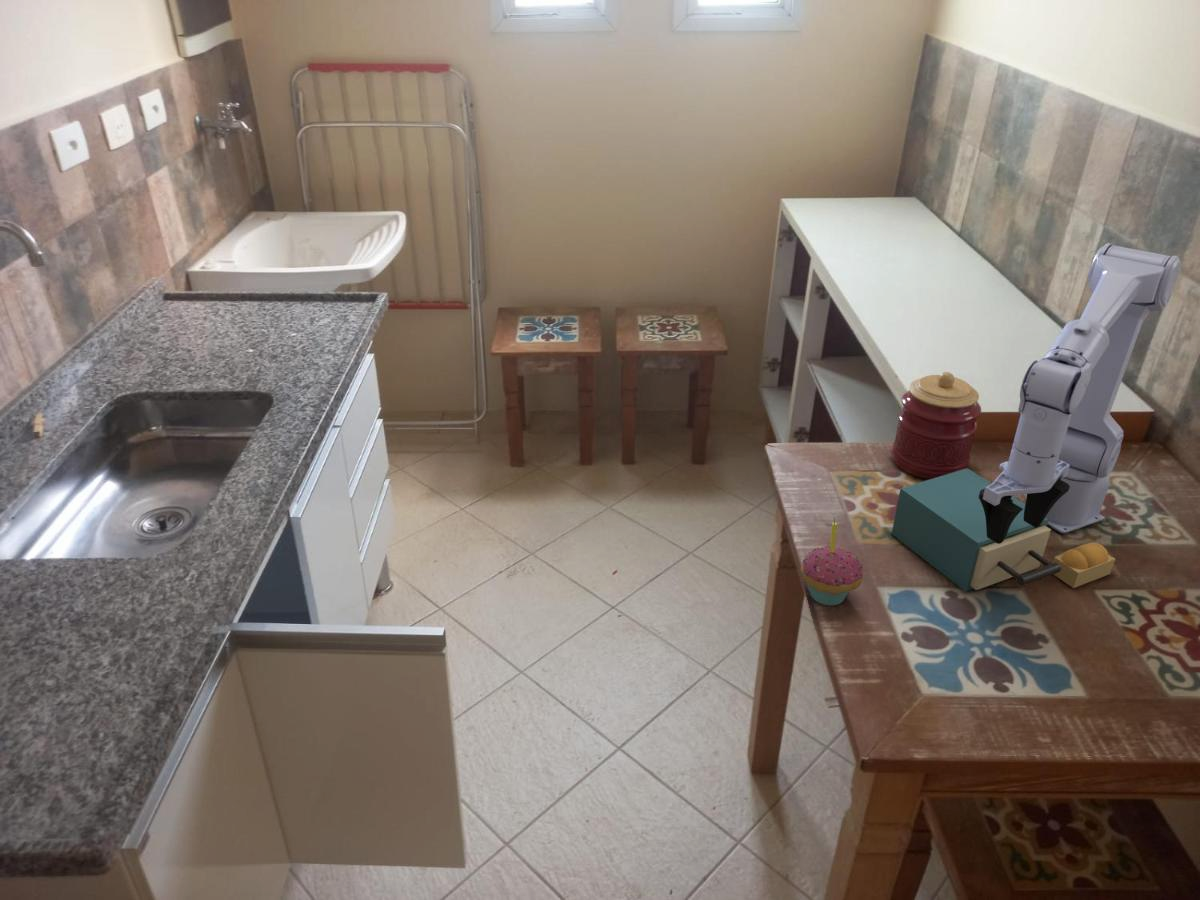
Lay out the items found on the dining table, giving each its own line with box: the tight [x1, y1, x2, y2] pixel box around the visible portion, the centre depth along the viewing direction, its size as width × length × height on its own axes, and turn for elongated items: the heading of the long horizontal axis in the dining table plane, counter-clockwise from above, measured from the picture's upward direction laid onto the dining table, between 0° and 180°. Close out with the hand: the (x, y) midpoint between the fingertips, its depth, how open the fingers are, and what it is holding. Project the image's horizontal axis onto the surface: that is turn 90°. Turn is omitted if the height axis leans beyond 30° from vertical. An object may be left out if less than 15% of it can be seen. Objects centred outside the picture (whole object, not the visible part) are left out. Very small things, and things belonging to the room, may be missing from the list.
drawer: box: [970, 525, 1061, 591], centre depth 129 cm, size 19×12×7 cm, turn 25°
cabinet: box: [891, 467, 1049, 592], centre depth 132 cm, size 16×14×9 cm
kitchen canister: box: [891, 371, 982, 480], centre depth 152 cm, size 13×13×18 cm
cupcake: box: [800, 517, 865, 606], centre depth 122 cm, size 9×8×12 cm
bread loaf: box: [1052, 542, 1116, 589], centre depth 128 cm, size 8×4×4 cm, turn 115°
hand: (1012, 531), depth 122 cm, fingers open, 7 cm apart
